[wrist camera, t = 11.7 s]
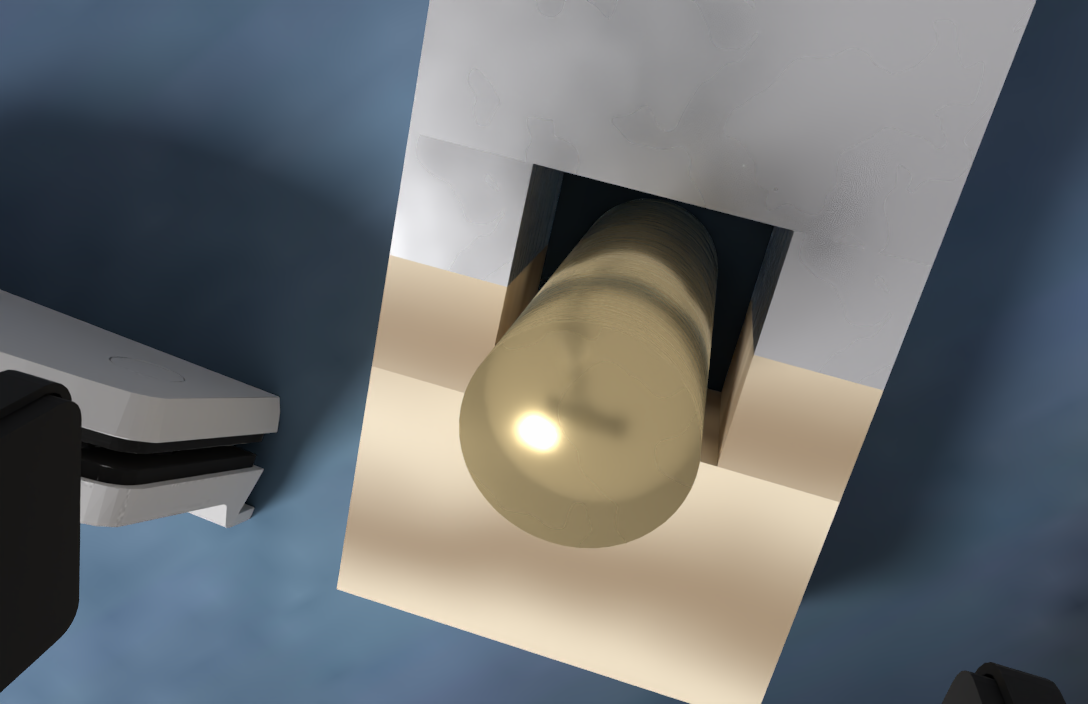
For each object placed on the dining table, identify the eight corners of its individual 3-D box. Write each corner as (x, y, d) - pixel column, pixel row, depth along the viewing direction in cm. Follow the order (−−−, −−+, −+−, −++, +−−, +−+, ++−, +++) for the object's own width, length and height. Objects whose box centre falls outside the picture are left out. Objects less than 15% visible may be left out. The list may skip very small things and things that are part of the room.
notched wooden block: (451, 217, 26) (389, 254, 22) (856, 325, 25) (883, 390, 20) (398, 504, 30) (336, 588, 25) (750, 613, 29) (752, 723, 24)
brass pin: (596, 182, 25) (483, 293, 14) (736, 218, 25) (733, 362, 14) (565, 314, 27) (440, 508, 16) (696, 350, 26) (664, 577, 15)
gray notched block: (520, -161, 23) (464, -213, 18) (998, -59, 21) (1070, -87, 17) (451, 217, 26) (389, 254, 22) (856, 325, 25) (883, 390, 20)
